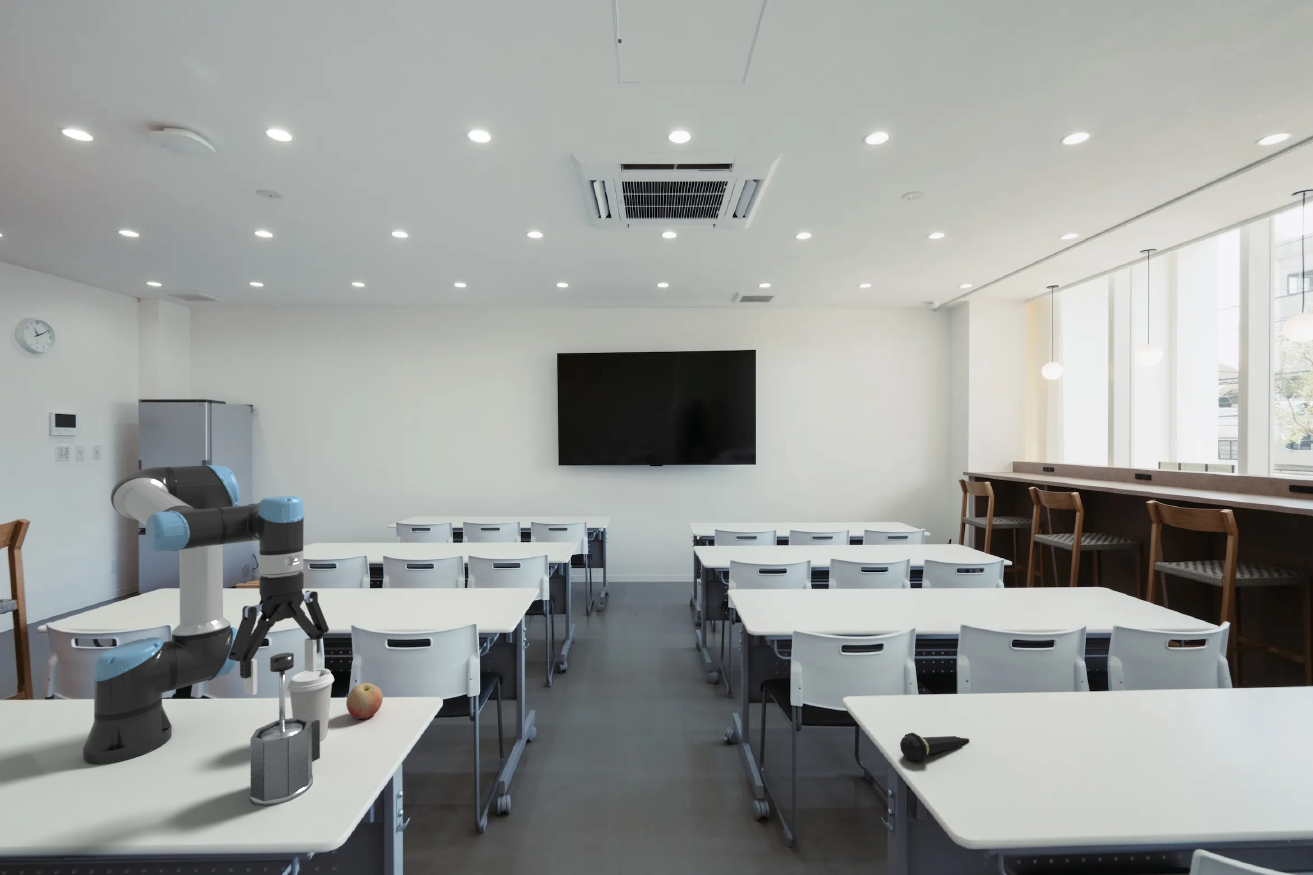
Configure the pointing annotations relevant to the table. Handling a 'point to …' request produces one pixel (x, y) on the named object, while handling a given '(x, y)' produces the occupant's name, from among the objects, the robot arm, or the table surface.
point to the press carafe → (283, 763)
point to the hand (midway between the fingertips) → (282, 681)
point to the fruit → (364, 700)
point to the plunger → (281, 699)
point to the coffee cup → (312, 697)
